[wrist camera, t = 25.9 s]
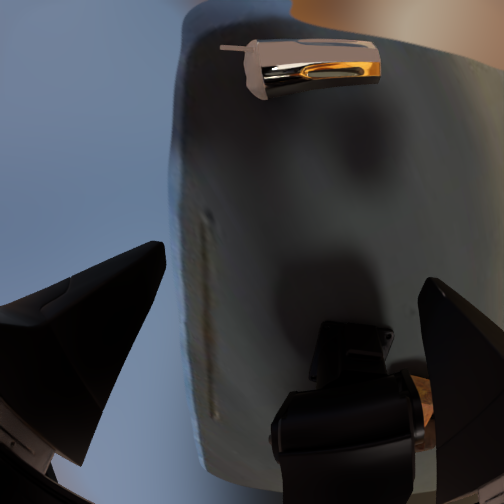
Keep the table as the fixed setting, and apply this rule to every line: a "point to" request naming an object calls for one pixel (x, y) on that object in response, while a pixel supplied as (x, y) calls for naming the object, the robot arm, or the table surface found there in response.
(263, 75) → the milkshake
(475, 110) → the table surface
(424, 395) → the pyrite
